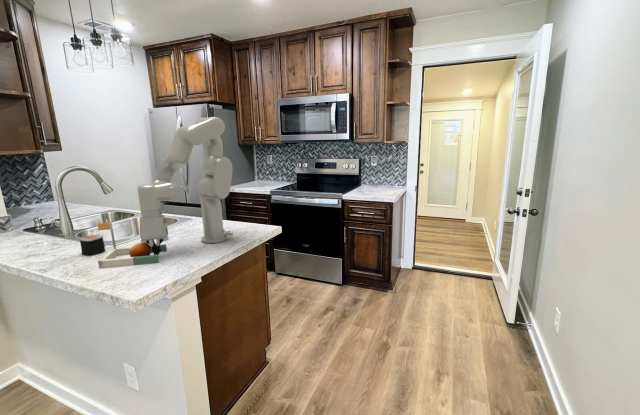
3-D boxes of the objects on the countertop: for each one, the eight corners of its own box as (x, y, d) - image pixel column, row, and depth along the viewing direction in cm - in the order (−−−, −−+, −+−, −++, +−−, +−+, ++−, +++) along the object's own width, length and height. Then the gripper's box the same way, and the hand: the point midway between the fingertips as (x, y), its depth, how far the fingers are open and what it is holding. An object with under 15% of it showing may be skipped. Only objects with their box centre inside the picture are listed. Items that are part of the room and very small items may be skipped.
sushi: (89, 257, 133) (86, 239, 131) (79, 254, 136) (75, 237, 135) (108, 251, 140) (106, 234, 138) (98, 248, 143) (95, 232, 142)
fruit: (146, 259, 126) (135, 243, 125) (133, 267, 128) (122, 251, 127) (159, 252, 133) (149, 237, 132) (147, 260, 135) (136, 245, 134)
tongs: (166, 250, 140) (162, 219, 136) (157, 262, 125) (152, 228, 122) (104, 255, 134) (98, 223, 131) (87, 269, 120) (80, 233, 116)
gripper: (172, 210, 133) (177, 249, 137) (134, 212, 130) (140, 252, 134) (168, 214, 126) (173, 255, 130) (128, 216, 122) (135, 258, 127)
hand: (156, 253), depth 132 cm, fingers closed
